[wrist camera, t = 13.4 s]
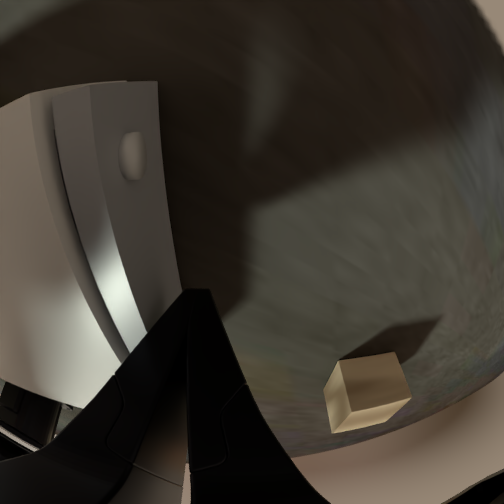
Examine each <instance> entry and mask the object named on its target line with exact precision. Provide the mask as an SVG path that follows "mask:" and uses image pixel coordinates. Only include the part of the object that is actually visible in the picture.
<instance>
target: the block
mask: <svg viewBox="0 0 504 504" xmlns="http://www.w3.org/2000/svg"><path fill="white" fill-rule="evenodd" d="M323 391H324V395H325V400H326V405H327V410H328V415H329V421H330V426H331V431H332V433H337V432H343V431H348V430H353V429H357V428H362V427H366V426H370V425H374V424H378V423H382V422H385V421H387V420H388V419H389V418H390V417H391V416H392V415H393V414H395V413H396V412H397V411H398V410H399V409H400V408H401V407H402V406H403V405H404V404H406V403H407V402H408V401H409V400H410V399H411V398H412V396H411V393H410V390H409V387H408V385H407V382H406V379H405V377H404V374H403V371H402V369H401V366H400V364H399V361H398V359H397V356H396V354H395V352H390V353H385V354H379V355H373V356H367V357H360V358H353V359H346V360H338V362H337V364H336V366H335V368H334V370H333V372H332V374H331V376H330V378H329V380H328V382H327V384H326V386H325V388H324V389H323Z"/></svg>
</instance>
